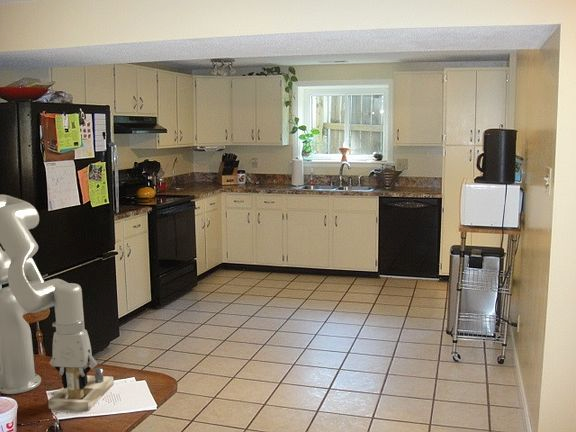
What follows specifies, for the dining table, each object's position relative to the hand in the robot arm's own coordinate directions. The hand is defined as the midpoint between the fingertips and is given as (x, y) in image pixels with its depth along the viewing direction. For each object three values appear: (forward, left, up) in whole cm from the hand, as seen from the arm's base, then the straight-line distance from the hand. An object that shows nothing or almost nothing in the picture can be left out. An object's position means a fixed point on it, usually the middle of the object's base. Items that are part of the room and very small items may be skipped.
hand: (75, 386), depth 180 cm
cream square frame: (0, +3, -5) cm, 6 cm away
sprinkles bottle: (0, 0, -4) cm, 4 cm away
